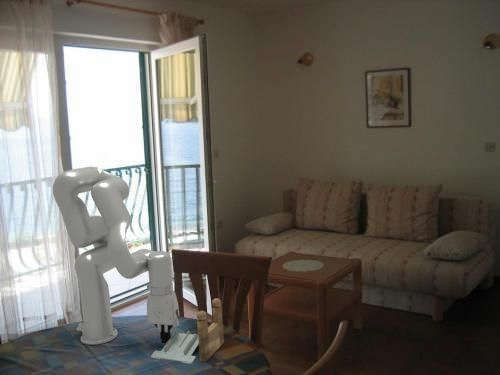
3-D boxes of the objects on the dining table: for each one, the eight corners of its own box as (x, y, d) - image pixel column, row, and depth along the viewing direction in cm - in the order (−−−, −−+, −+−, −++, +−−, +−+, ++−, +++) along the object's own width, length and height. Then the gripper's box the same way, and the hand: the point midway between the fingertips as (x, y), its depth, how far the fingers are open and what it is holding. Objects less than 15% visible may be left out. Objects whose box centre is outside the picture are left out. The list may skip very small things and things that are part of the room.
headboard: (198, 360, 157) (195, 312, 155) (217, 341, 170) (214, 296, 168) (207, 362, 156) (203, 313, 154) (225, 342, 169) (222, 297, 167)
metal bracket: (169, 325, 172) (208, 330, 166) (173, 339, 174) (212, 344, 168) (147, 355, 160) (189, 361, 154) (151, 369, 162) (192, 376, 156)
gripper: (135, 291, 165) (140, 344, 168) (176, 294, 160) (180, 349, 163) (148, 284, 172) (152, 335, 175) (187, 286, 167) (191, 339, 169)
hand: (165, 341), depth 169 cm, fingers closed
